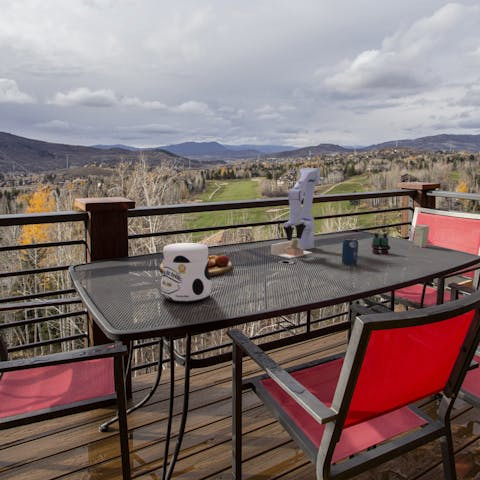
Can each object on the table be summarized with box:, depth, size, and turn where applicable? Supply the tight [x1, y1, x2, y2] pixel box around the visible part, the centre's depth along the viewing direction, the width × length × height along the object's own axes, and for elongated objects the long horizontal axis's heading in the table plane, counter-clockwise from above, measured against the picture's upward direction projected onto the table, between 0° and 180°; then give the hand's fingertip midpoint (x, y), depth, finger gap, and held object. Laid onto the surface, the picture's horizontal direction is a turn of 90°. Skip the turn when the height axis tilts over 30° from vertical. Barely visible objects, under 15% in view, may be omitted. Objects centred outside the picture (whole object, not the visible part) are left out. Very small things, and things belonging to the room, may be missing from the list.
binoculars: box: [371, 232, 391, 256], centre depth 212 cm, size 9×11×10 cm
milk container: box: [160, 242, 212, 303], centre depth 139 cm, size 17×17×18 cm
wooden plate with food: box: [159, 254, 233, 277], centre depth 180 cm, size 32×32×8 cm
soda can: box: [341, 237, 359, 266], centre depth 189 cm, size 7×7×12 cm
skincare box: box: [413, 224, 430, 248], centre depth 231 cm, size 6×4×12 cm
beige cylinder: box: [290, 238, 298, 250], centre depth 208 cm, size 4×4×7 cm
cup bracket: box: [270, 240, 313, 259], centre depth 209 cm, size 18×12×5 cm
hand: (294, 239), depth 207 cm, fingers open, 7 cm apart
